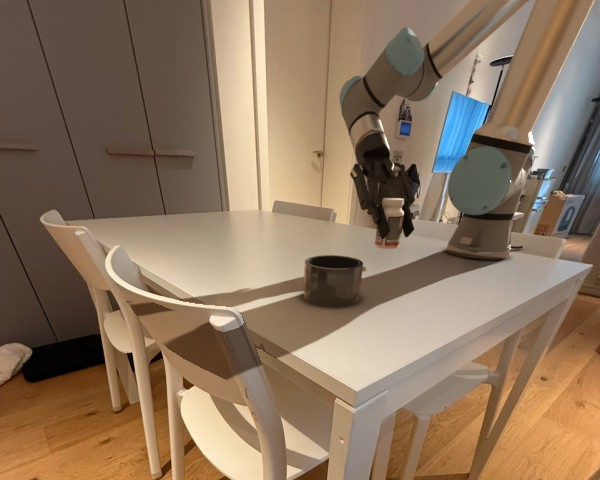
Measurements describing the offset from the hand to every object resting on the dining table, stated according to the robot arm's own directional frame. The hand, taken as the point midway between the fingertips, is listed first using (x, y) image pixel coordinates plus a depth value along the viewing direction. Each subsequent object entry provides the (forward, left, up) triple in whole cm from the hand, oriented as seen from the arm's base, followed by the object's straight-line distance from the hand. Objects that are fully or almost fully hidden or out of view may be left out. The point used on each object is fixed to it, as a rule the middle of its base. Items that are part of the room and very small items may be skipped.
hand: (397, 233), depth 75 cm
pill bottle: (+1, -4, -4) cm, 5 cm away
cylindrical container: (+21, +21, -6) cm, 30 cm away
